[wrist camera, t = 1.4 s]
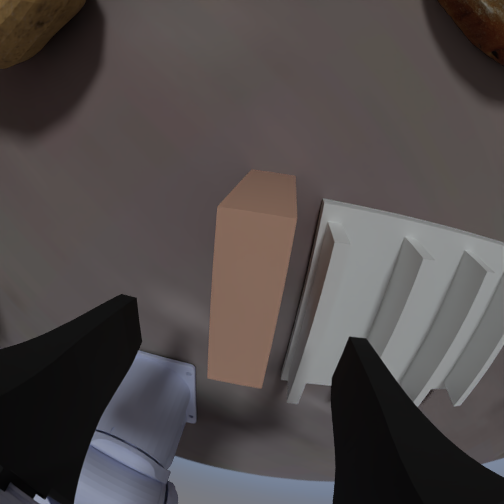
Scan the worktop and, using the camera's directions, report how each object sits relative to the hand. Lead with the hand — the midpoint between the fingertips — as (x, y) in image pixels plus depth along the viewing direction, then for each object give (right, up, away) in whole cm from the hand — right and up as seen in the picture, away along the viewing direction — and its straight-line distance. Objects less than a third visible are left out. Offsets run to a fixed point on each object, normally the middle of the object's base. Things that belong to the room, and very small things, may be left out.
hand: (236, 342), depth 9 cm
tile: (+1, +4, +9) cm, 10 cm away
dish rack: (+12, -2, +9) cm, 15 cm away
